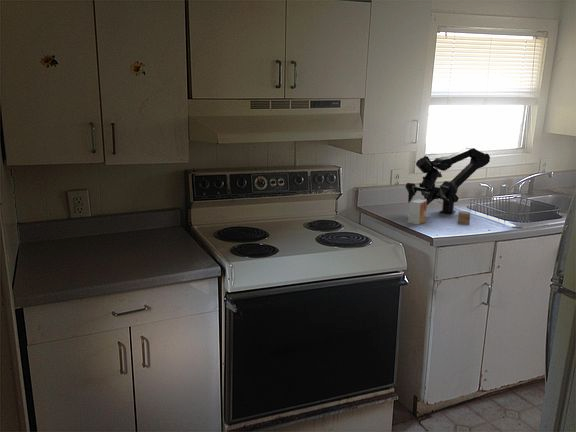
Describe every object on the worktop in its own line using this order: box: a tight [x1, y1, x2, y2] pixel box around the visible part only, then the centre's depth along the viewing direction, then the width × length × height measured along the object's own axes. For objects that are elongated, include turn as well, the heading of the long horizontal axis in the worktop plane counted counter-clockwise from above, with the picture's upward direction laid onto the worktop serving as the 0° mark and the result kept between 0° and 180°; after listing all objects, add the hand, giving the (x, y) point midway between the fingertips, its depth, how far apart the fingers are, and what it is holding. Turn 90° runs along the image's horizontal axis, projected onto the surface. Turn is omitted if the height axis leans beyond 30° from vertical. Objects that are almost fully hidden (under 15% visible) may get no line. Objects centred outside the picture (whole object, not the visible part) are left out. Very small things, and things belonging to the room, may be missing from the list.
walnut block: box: [457, 210, 471, 225], centre depth 258 cm, size 5×5×5 cm
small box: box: [407, 198, 428, 226], centre depth 256 cm, size 8×6×10 cm
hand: (417, 204), depth 264 cm, fingers open, 9 cm apart
